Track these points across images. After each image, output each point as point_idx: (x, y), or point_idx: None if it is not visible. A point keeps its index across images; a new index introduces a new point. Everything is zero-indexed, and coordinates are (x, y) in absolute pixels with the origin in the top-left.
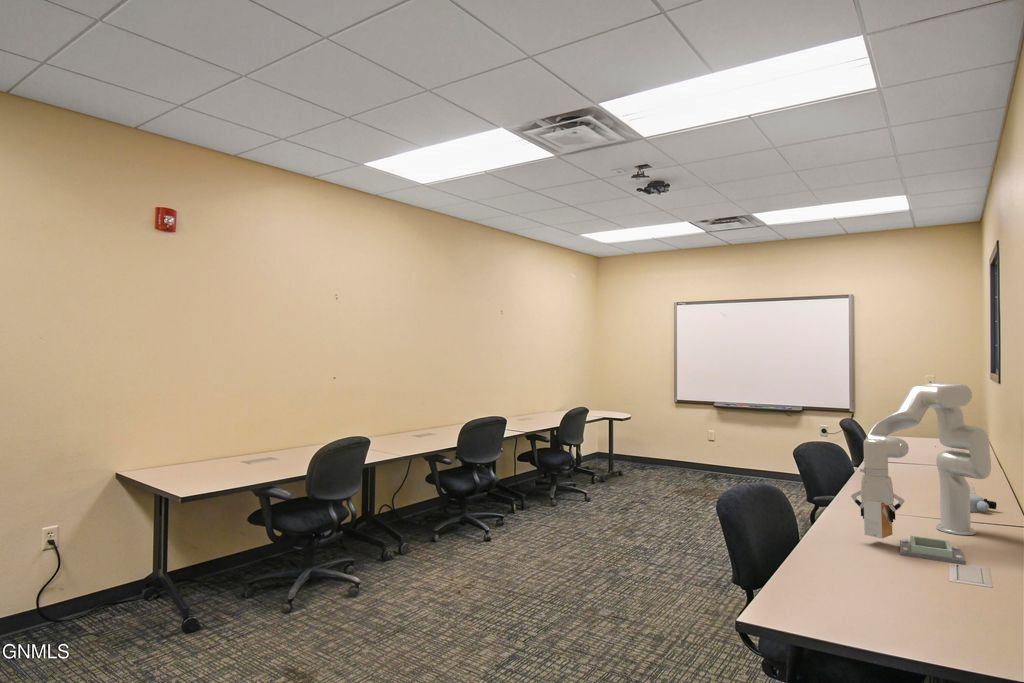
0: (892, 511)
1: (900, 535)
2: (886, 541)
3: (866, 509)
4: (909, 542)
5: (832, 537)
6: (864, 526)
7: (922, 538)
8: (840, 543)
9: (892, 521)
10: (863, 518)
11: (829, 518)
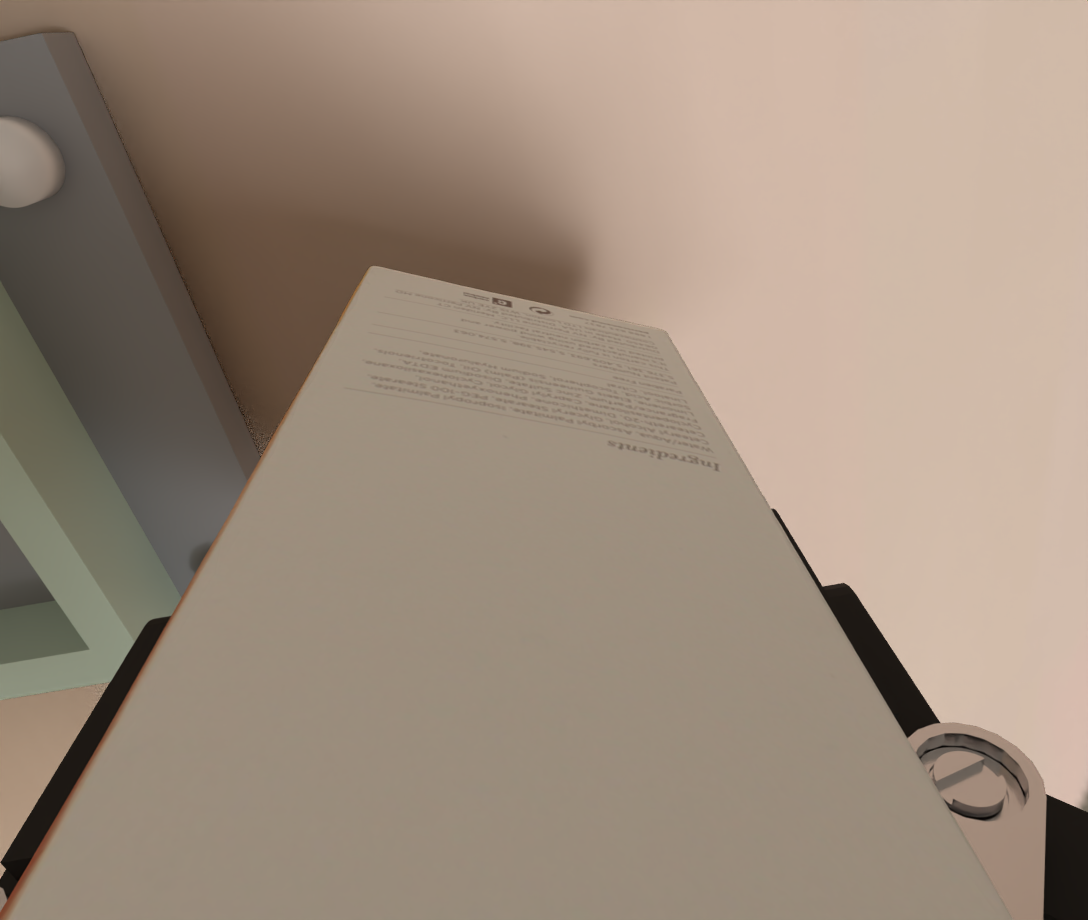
0: (12, 866)
1: None
2: None
3: (775, 651)
4: None
5: (1059, 304)
6: (699, 390)
7: (3, 659)
8: (971, 32)
9: (157, 621)
10: None
11: None
